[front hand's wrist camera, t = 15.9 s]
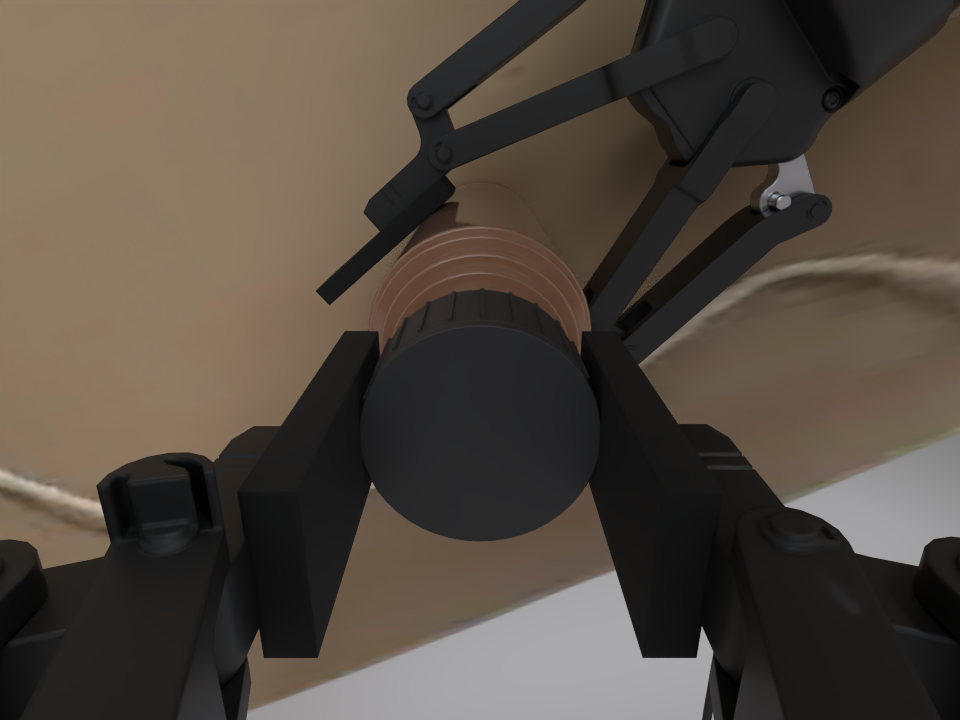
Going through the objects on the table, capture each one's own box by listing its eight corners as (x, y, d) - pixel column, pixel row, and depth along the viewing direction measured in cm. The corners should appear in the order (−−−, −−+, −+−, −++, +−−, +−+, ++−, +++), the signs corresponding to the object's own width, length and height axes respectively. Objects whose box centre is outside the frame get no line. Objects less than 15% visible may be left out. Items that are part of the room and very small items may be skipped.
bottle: (566, 225, 31) (707, 380, 12) (499, 328, 33) (527, 605, 14) (458, 156, 30) (419, 204, 11) (395, 267, 32) (266, 476, 12)
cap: (542, 254, 13) (557, 283, 11) (608, 438, 15) (634, 501, 12) (343, 331, 14) (313, 375, 11) (426, 499, 15) (416, 571, 13)
